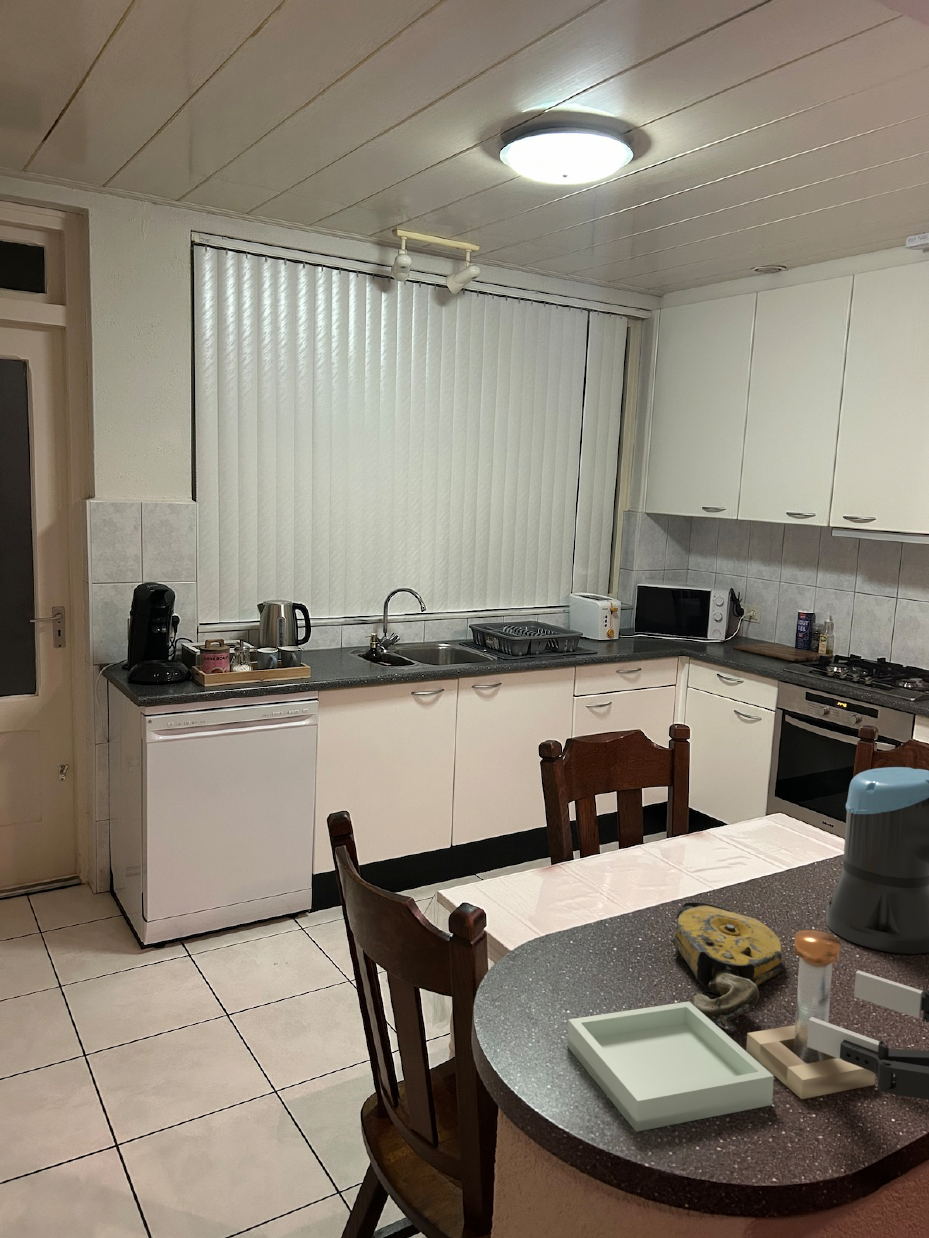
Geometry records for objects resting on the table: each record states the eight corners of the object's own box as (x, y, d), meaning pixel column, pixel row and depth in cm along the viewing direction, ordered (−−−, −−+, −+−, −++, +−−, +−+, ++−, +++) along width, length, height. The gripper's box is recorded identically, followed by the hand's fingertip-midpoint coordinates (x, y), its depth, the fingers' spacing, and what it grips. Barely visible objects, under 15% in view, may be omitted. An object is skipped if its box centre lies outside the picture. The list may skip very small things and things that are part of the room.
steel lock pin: (811, 1052, 100) (820, 928, 99) (840, 1075, 96) (849, 945, 95) (777, 1058, 99) (786, 932, 97) (805, 1082, 94) (814, 950, 93)
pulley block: (663, 970, 104) (682, 880, 133) (652, 1017, 105) (674, 918, 134) (792, 1012, 100) (784, 910, 129) (780, 1061, 101) (774, 948, 130)
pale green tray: (687, 1026, 104) (689, 1001, 104) (771, 1104, 90) (773, 1075, 90) (567, 1045, 100) (568, 1019, 99) (636, 1131, 86) (637, 1100, 85)
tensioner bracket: (814, 1038, 103) (815, 1021, 103) (874, 1084, 94) (875, 1065, 94) (746, 1050, 100) (747, 1032, 100) (801, 1098, 92) (802, 1079, 91)
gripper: (1052, 1207, 72) (783, 1093, 85) (1095, 1073, 91) (870, 997, 104) (1060, 1115, 71) (789, 1015, 85) (1103, 1000, 90) (875, 933, 104)
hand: (833, 1005), depth 95 cm, fingers open, 13 cm apart
